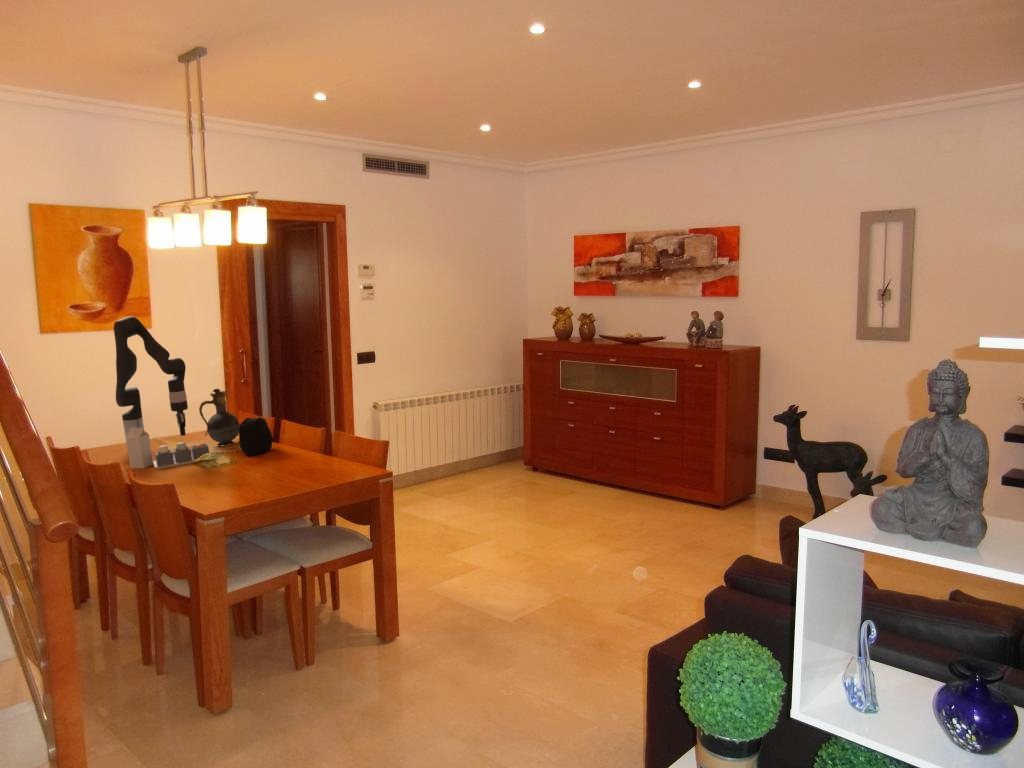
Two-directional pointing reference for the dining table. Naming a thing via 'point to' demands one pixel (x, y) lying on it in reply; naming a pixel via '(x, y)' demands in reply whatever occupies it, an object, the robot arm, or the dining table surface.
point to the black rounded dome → (255, 436)
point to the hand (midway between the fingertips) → (183, 435)
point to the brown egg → (199, 445)
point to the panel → (179, 457)
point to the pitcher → (221, 420)
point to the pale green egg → (181, 446)
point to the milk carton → (139, 448)
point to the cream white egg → (163, 449)
